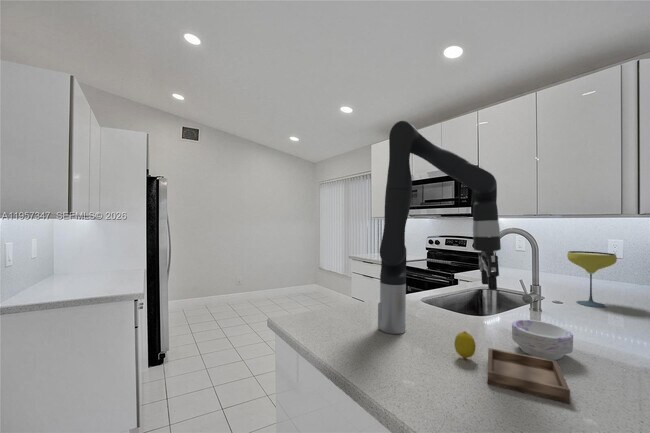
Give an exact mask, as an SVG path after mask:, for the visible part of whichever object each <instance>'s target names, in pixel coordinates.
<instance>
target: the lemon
mask: <svg viewBox="0 0 650 433" xmlns="http://www.w3.org/2000/svg"><path fill="white" fill-rule="evenodd" d="M454 338H455V339H454V348H455V351H456V354H458V355H459V356H460V357H461V358H463V359H464V360H466V359H468V358H471V357H473V356H474V355H475V352H476V342H475V338H474V337H473V335H471V334H470V333H468V332H467V331H464V330H463V331H461V332H459V333H458V334H457V335H456V336H455V337H454Z"/></svg>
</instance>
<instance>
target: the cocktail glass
mask: <svg viewBox="0 0 650 433" xmlns="http://www.w3.org/2000/svg"><path fill="white" fill-rule="evenodd" d="M566 257H567V259H568V261H570V262H571V263H573V264H574V265H576V266H578V267H580V268H582V269H584V270H585V271H586V272H587V273H588V274H589V297H588V300H576V303H577V304H578V305H581V306H585V307H592V308H606V306H607V305H605V304H603V303H601V302H596V301H594V299H593V292H592V291H593V282H592V281H593V278H592V276H593V274H595V273H596V272H598V270H599V271H600V270H601V269H605V268H608V267H611V266H613V265H614V264H616V263H617V259H618V258H617V254H615V253H611V252H602V251H601V252H600V251H586V250H585V251H582V250H581V251H580V250H572V251H571V250H569V251H567V254H566Z"/></svg>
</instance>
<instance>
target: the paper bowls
mask: <svg viewBox="0 0 650 433" xmlns="http://www.w3.org/2000/svg"><path fill="white" fill-rule="evenodd" d="M511 338H512V340H513V342H514V343H516V344H517V345H518V346H519V347H520V349H521V351H522V352H524V353H525V354H526V355H528V356H534V357H539V358H544V359H549V360H555V361H557V360H560V359H562V358H563V357H564V356H565V355H567V354H568V355H570V354H571V353H573V351H574V349H573V348H574V335H573V332H571V331H570V330H568V329H567V328H565V327H563V326H560V325H557V324H553V323H550V322H546V321H541V320H535V319H518V320H514V321H513V322H512V323H511Z"/></svg>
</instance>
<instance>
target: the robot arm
mask: <svg viewBox="0 0 650 433" xmlns="http://www.w3.org/2000/svg"><path fill="white" fill-rule="evenodd" d="M388 139H389V140H388V143H389V145H388V146H389V148H388V149H389V151H388V152H389V154H388V156H389V158H388V169H387V175H386V176H387V178H386V186H385V194H384V226H383V227H384V228H383V233H382V238H381V242H380V247H379V257H380V261H381V262H380V263H381V264H380V273H379V274H380V275H379V302H378V304H377V330H379V331H382V332H384V333H386V334H392V335H399V334H404V333H405V332H406V327H407V326H406V325H407V323H406V321H407V320H406V318H407V317H406V316H407V315H406V313H407V312H406V311H407V310H406V308H407V306H406V305H407V302H406V301H407V299H406V298H407V296H406V295H407V294H406V293H407V282H406V281H407V246H406V244H405V243H406V242H405V241H406V240H405V239H406V238H405V237H406V226H407V220H408V217H409V213H410V208H411V202H412V196H413V195H412V194H413V193H412V192H413V180H412V179H413V178H412V173H411V172H412V171H411V164H410V157H411V155H414V156H417V157H418V158H421V159H423V160H425V161H426V162H428V163H429V164H431V165H432V166H433V167H434V168H436V169H437V170H439V171H441V173H444V175H447V176H449V177H450V178H452V179H453V180H456V181H458V182H460V183H461V184H463V185H464V186H466V187H467V188H469V189H470V190H471V191H472V193H473V194H472V195H473V205H472V239H473V241H472V242H473V243H472V244H473V250H475V251H478V253H477V254H478V269H479V272H480V273H481V275H480V277H481V284H482V285H487V288H488V290H489V291H497V289H498V284H497V282H498V280H497V278H498V277H500V270H499V268H500V267H499V256H498V255H495V253H494V252H495V251H496V252H497V251H501V249H502V247H501V232H500V230H501V229H500V223H499V213H498V204H497V198H498V194H497V193H498V186H497V185H498V183H497V178H496V177H495V176H494V175H493V174H492V173H491V172H489V171H488V170H485V169H484V168H482V167H479V165H478V166H477V165H475V164H473V163H471V161H469V160H467V159H465V158H463V157H462V156H460V155H458V154H457V153H454V152H453V151H451V150H449V149H446V148H444V147H443V146H442V147H441V146H439V145H437V144H435V143H433V142H432V141H430V140H429V139H427V138H426V137H425V136H423V134H422V133H420V132H419V131H418V129H417V128H416V127H415V126H414V125H413V124H412V123H410V122H408V121H406V120H400V121H397V122H396V123H394V124H393V126H392V127H391V129H390V131H389V138H388Z"/></svg>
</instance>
